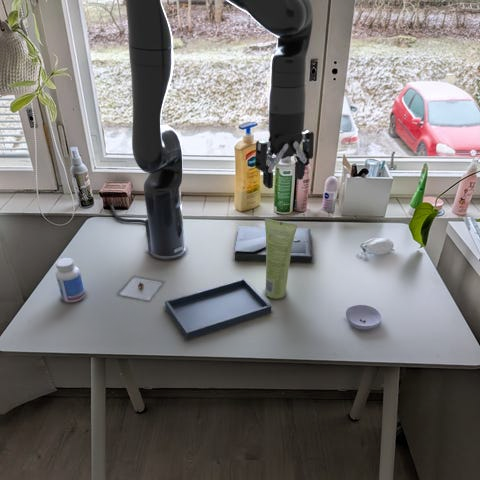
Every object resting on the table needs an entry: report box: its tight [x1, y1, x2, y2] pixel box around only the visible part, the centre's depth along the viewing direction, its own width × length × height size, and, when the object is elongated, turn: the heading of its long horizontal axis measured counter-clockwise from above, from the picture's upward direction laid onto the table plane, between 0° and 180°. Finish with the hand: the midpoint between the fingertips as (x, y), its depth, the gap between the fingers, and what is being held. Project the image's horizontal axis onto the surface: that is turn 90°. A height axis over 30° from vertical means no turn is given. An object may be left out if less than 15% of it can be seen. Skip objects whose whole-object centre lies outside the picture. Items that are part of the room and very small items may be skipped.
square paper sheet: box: [118, 276, 163, 301], centre depth 124 cm, size 8×8×2 cm
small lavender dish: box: [345, 304, 383, 331], centre depth 114 cm, size 8×8×2 cm
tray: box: [164, 277, 272, 340], centre depth 117 cm, size 21×13×2 cm, turn 118°
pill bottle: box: [55, 257, 86, 303], centre depth 119 cm, size 6×5×10 cm
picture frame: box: [234, 225, 313, 264], centre depth 140 cm, size 16×3×21 cm
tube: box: [264, 218, 298, 299], centre depth 117 cm, size 6×5×20 cm
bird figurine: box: [358, 237, 396, 261], centre depth 136 cm, size 5×7×10 cm
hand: (283, 182), depth 113 cm, fingers open, 8 cm apart
